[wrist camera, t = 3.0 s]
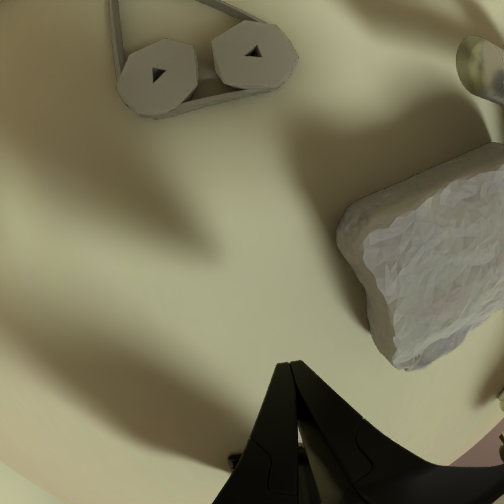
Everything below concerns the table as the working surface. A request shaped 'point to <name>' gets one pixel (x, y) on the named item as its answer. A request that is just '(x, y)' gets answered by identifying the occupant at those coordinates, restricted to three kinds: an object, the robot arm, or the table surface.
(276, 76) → the pulley system
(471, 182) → the stone block
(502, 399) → the pneumatic valve
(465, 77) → the linear shaft assembly
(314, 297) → the table surface
